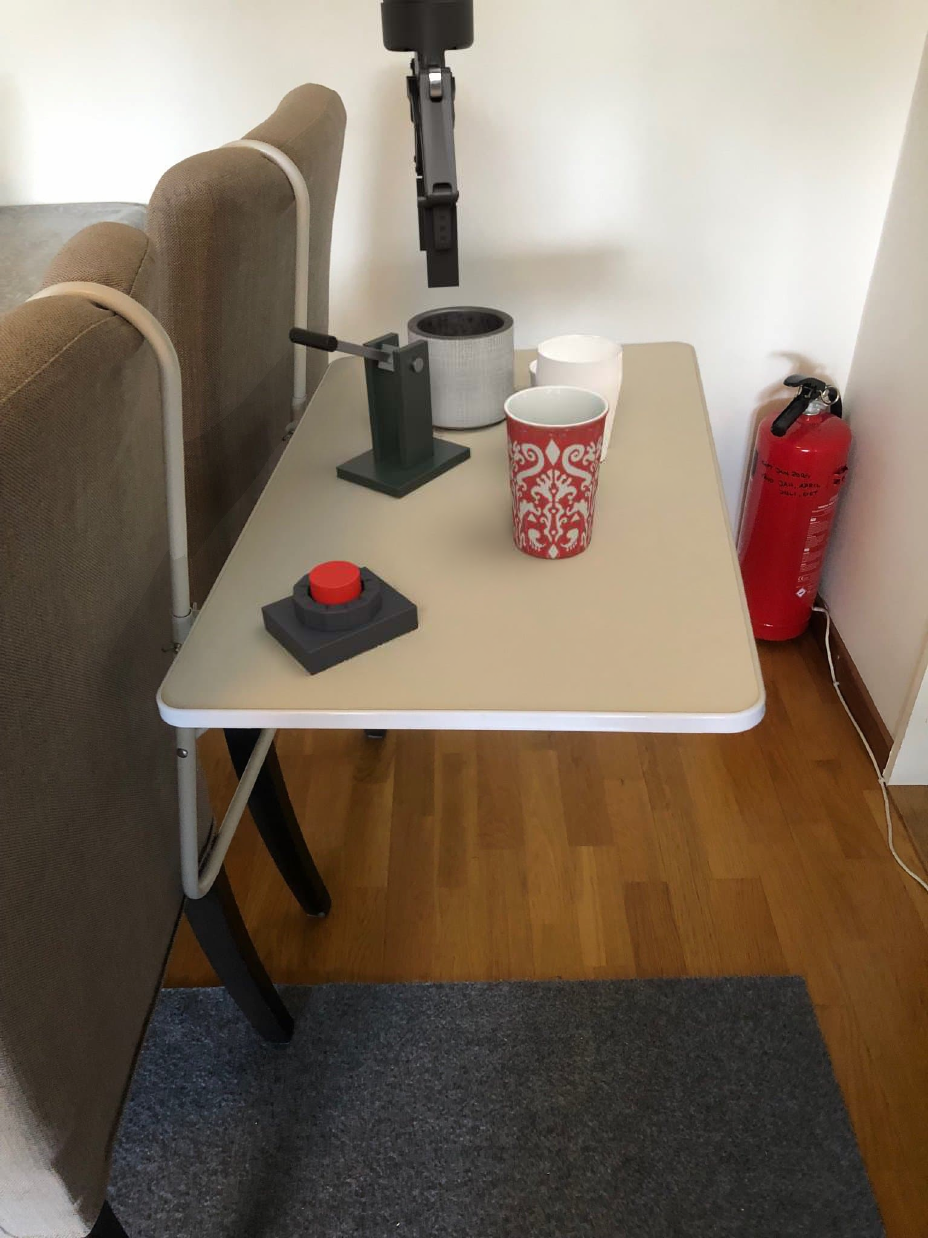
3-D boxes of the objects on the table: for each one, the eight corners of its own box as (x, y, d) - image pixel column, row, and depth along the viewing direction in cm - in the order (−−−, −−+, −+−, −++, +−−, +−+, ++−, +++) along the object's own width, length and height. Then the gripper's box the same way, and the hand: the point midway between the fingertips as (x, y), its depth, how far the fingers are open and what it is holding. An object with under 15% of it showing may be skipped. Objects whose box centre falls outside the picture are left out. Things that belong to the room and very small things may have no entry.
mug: (603, 566, 82) (612, 424, 75) (502, 564, 83) (501, 424, 75) (597, 500, 93) (605, 370, 85) (508, 499, 93) (507, 370, 86)
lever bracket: (399, 499, 94) (388, 367, 86) (336, 476, 99) (321, 350, 91) (470, 457, 102) (467, 333, 94) (409, 438, 107) (401, 319, 99)
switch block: (312, 675, 71) (305, 633, 68) (264, 629, 76) (257, 588, 74) (418, 627, 75) (415, 587, 73) (367, 587, 81) (363, 547, 79)
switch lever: (324, 356, 82) (329, 329, 82) (286, 346, 85) (291, 319, 84) (421, 378, 94) (426, 354, 93) (384, 368, 96) (389, 345, 96)
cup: (621, 472, 98) (629, 361, 91) (536, 474, 98) (538, 364, 91) (611, 437, 105) (618, 332, 98) (532, 439, 105) (533, 335, 98)
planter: (534, 406, 113) (535, 314, 107) (475, 441, 105) (472, 345, 99) (452, 386, 120) (449, 299, 113) (391, 419, 111) (383, 327, 105)
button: (327, 611, 71) (324, 593, 70) (302, 590, 74) (299, 571, 73) (371, 593, 73) (369, 575, 72) (345, 573, 76) (343, 555, 75)
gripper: (490, -9, 64) (493, 301, 76) (459, -11, 84) (465, 234, 96) (382, -6, 63) (403, 306, 76) (377, -8, 84) (394, 238, 96)
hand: (438, 267), depth 86 cm, fingers open, 13 cm apart
